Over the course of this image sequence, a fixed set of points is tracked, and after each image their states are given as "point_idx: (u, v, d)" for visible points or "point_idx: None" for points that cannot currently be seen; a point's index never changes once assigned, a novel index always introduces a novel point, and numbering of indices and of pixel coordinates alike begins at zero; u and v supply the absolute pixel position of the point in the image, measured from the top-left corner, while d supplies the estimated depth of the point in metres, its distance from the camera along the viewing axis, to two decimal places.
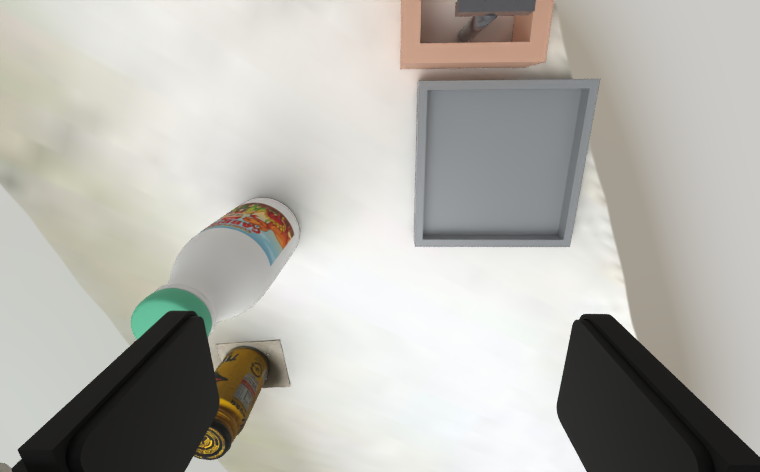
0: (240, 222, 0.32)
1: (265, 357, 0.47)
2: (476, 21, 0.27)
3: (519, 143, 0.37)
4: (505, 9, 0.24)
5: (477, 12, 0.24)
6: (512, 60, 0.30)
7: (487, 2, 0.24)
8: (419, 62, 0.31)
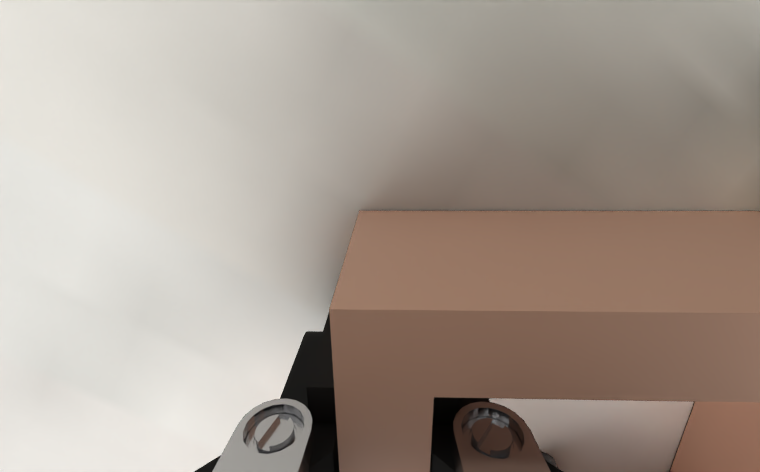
0: None
1: None
2: None
3: None
4: None
5: None
6: None
7: None
8: None
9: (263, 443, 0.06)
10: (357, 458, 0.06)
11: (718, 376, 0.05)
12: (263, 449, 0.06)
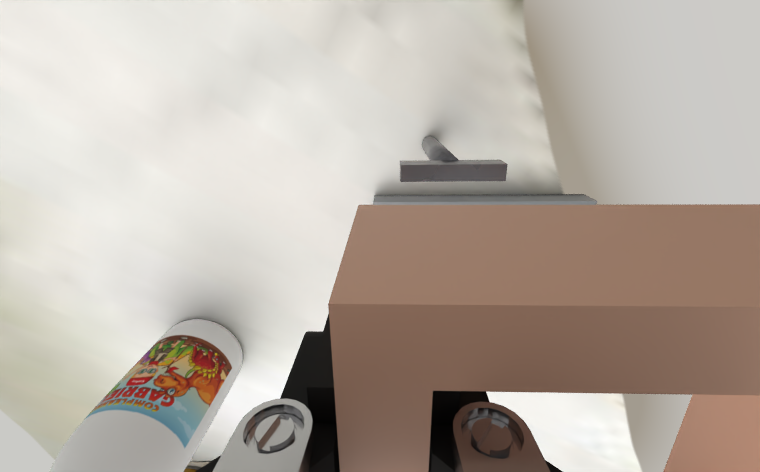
0: (148, 391, 0.25)
1: None
2: None
3: None
4: (464, 178, 0.17)
5: (427, 180, 0.18)
6: None
7: (440, 170, 0.17)
8: None
9: (263, 443, 0.06)
10: (356, 450, 0.06)
11: (716, 369, 0.05)
12: (264, 449, 0.06)
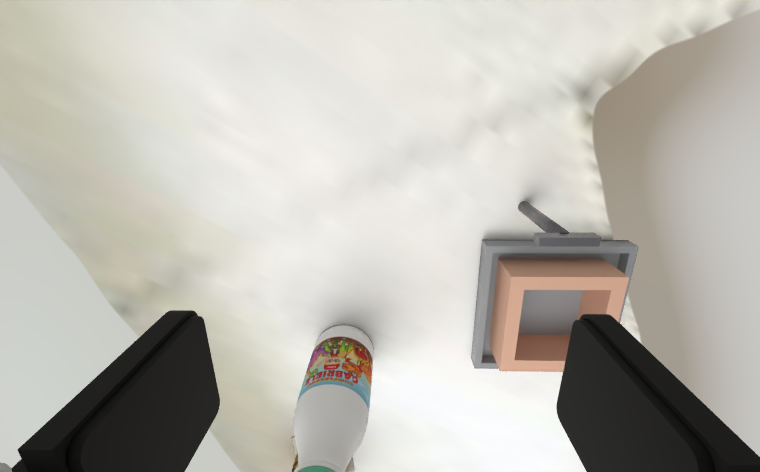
0: (342, 373, 0.38)
1: None
2: (546, 231, 0.34)
3: None
4: (576, 245, 0.30)
5: (553, 245, 0.31)
6: None
7: (562, 240, 0.30)
8: (512, 370, 0.42)
9: None
10: (511, 300, 0.39)
11: (563, 285, 0.38)
12: None
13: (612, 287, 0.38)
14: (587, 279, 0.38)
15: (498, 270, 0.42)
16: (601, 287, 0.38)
